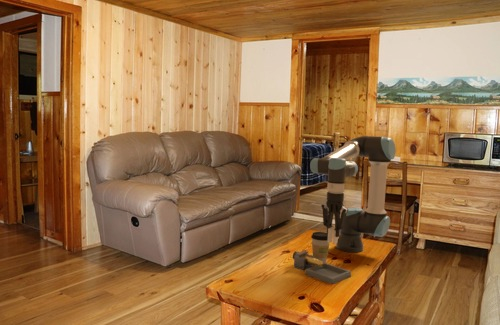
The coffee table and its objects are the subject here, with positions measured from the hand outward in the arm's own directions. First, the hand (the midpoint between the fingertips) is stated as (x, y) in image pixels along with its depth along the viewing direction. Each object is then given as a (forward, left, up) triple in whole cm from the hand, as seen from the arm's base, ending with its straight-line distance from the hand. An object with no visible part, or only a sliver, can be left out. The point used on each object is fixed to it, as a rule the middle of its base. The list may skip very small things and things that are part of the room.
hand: (332, 242), depth 187 cm
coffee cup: (-12, -15, -17) cm, 25 cm away
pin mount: (0, -16, -16) cm, 23 cm away
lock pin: (0, -13, -14) cm, 19 cm away
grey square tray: (-1, -2, -16) cm, 17 cm away
